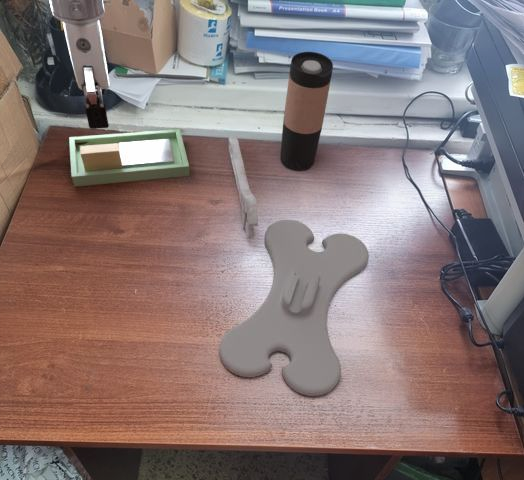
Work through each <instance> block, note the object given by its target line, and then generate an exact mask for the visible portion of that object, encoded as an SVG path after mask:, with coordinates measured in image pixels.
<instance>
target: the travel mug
mask: <svg viewBox="0 0 524 480" xmlns="http://www.w3.org/2000/svg"><path fill="white" fill-rule="evenodd" d="M333 69H334V64H333V61H332V60H331V59H330V58H329V57H328V56H327V55H325V54H322V53H319V52H315V51H301V52H298V53H296V54H295V55H293V56H292V58H291V60H290V66H289V75H288V83H287V88H286V89H287V90H286V97H285V105H284V111H283V112H284V113H283V119H282V120H283V121H282V133H281V144H280V157H279V159H280V162H281V163H282V165H283V166H284V167H285V168H287V169H289V170H290V171H296V172H302V171H303V172H304V171H307V170H309V169H311V168H312V167H313V166H314V163H315V159H316V156H317V151H318V147H319V142H320V138H321V133H322V129H323V125H324V121H325V120H324V118H325V115H326V110H327V109H326V108H327V103H328V97H329V91H330V88H331V87H330V86H331V82H332V81H331V80H332V75H333Z"/></svg>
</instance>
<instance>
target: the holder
mask: <svg viewBox="0 0 524 480" xmlns="http://www.w3.org/2000/svg"><path fill="white" fill-rule="evenodd" d="M263 239H264V240H263V242H264V246H265V248H266V250H267V252H268V253H269V256H270V259H271V262H272V269H273V279H272V284H271V287H270V290H269V292H268V295H267V297H266V298H265V300H264V301H263V303H262V304H261V306H259V308H258V309H257V310H256V311H255V312H254V313H252V315H250V316H249V317H248V318H247V319H245V320H243V321H241V323H239V324H237V325H235V326H234V327H231V328H230V329H228V331H226V332H225V333H224V334H223V336H222V337H221V340H220V342H219V347H218V354H219V359H220V361H221V363H222V364H223V366H224V367H225V368H226V369H227V370H228V371H230V373H233V374H234V375H236V376H240V377H243V378H255V377H258V376H262V375H264V374H266V373H267V372H269V371H270V370H271V369H272V368H273V364H272V363H271V361H270V356H271V354H273V353H275V352H282V353H285V354H286V355H287V356H288V357H289V358H290V362H289V364H287V365H286V366H282V367H281V374H282V377H283V379H284V381H285V383H286V384H287V385H288V387H290V388H291V389H292V390H293V391H295V392H297V393H298V394H301V395H304V396H309V397H318V396H322V395H325V394H328V393H329V392H330V391H332V390H333V389H335V387H336V386H337V385H338V383H339V380H340V378H341V374H342V365H341V361H340V359H339V358H338V356H337V354H336V352H335V349H334V347H333V345H332V341H331V340H330V336H329V330H328V310H329V307H330V303H331V301H332V298H333V297H334V295H335V294H336V292H337V291H338V289H339V288H340V287H341V286H342V285H343V284H344V283H345V282H346V281H347V280H349V279H350V278H352V277H353V276H355V275H357V274H358V273H360V272H362V271H363V270H364V269H365V268H366V266H367V264H368V261H369V257H370V254H369V250H368V248H367V246H366V244H365V243H364V242H363V241H362V240H361V239H359V238H358V237H356V236H354V235H351V234H348V233H333V234H329V235H327V236H326V237H324V238H323V239H322V241H321V245H322V246H323V247H324V249H323V250H322V251H314V250H312V249H310V248H309V247H308V244H311V243H314V242H315V235H314V232H313V231H312V230H311V228H309V227H308V226H307V225H306V224H304V223H303V222H301V221H298V220H295V219H281V220H277V221H274V222H273V223H271V224H270V225H269V226H268V227H267V229H266V230H265V233H264V238H263Z"/></svg>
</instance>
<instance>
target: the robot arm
mask: <svg viewBox="0 0 524 480" xmlns="http://www.w3.org/2000/svg"><path fill="white" fill-rule="evenodd" d="M48 1H49V4H50V9H51V13H52V16H53V17H54V18H55V19H57V20H58V21H60V22H62V26H63V30H64V35H65V40H66V44H67V48H68V53H69V56H70V61H71V65H72V69H73V73H74V76H75V80H76V84H77V88H78V89H79V90H81V91H83V98H84V103H85V104H84V110H85V114H86V121H87V124H88V128H89V129H90V130H91V129H108V128H109V126H110V125H109V120H108V119H109V118H108V115H107V108H106V104H105V103H104V101H103V96H104V95H105V90H106V91H107V90H108V89H110V78H109V71H108V64H107V63H108V62H107V58H106V52H105V51H106V50H105V45H104V40H103V39H104V38H103V33H102V27H101V22H100V20H101V19H102V18H103V17H104V16H105V12H106V11H105V6H104V0H48Z"/></svg>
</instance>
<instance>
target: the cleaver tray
mask: <svg viewBox="0 0 524 480" xmlns="http://www.w3.org/2000/svg"><path fill="white" fill-rule="evenodd" d="M161 139H169V141H170V145H171V150H172V154H173V159H174V164H172V165H161V166H149V167H138V168H127V169H116V170H105V171H93V172H85V169H84V165H83V161H82V158H81V153H80V146H88V145H101V144H113V143H118V145H119V143H124V142H136V141H149V140H161ZM68 142H69V159H70V175H71V176H70V177H71V180H72V184H73V187H86V186H95V185H107V184H119V183H127V182H138V181H149V180H161V179H170V178H183V177H190V176H191V175H190V164H189V160H188V157H187V156H188V155H187V152H186V148H185V147H186V146H185V145H184V140H183V136H182V132H181V129H180V128H173V129H158V130H148V131H134V132H121V133H108V134H106V133H105V134H96V135H95V134H94V135H93V134H92V135H80V136H70V137H68ZM79 143H80V144H79ZM81 143H82V144H81ZM76 144H79V145H76ZM119 150H120V148H119ZM120 156H121V155H120Z"/></svg>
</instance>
